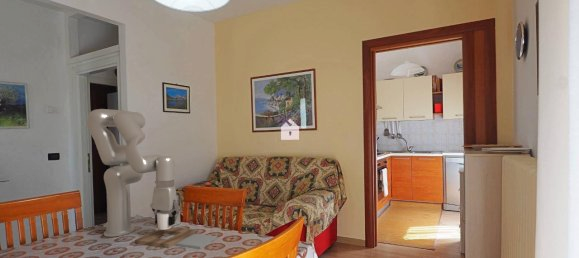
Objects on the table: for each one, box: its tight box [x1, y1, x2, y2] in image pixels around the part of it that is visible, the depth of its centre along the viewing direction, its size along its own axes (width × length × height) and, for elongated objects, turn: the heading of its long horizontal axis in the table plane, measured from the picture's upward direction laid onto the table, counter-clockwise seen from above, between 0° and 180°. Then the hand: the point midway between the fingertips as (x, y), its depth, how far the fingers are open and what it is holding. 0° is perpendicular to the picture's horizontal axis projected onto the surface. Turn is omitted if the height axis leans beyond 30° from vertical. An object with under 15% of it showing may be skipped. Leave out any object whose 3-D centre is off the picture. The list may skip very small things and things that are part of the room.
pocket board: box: [134, 226, 198, 249], centre depth 129 cm, size 18×18×2 cm
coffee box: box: [172, 191, 181, 227], centre depth 147 cm, size 9×6×16 cm
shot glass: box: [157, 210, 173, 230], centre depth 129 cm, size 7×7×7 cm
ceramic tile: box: [175, 233, 218, 249], centre depth 124 cm, size 12×12×1 cm
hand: (164, 223), depth 129 cm, fingers closed on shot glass, 6 cm apart
